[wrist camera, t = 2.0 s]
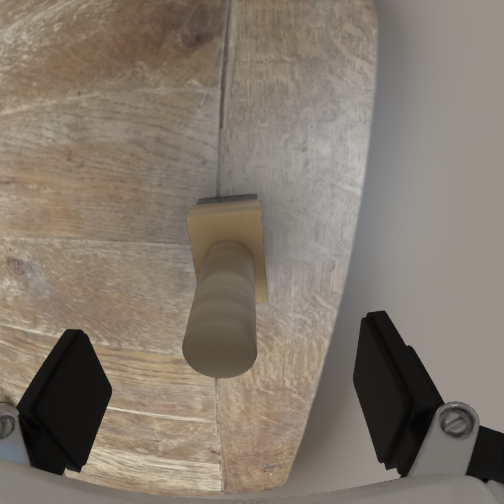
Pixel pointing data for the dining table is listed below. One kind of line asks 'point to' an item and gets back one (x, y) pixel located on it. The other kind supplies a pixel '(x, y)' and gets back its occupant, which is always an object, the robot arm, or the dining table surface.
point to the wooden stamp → (225, 285)
